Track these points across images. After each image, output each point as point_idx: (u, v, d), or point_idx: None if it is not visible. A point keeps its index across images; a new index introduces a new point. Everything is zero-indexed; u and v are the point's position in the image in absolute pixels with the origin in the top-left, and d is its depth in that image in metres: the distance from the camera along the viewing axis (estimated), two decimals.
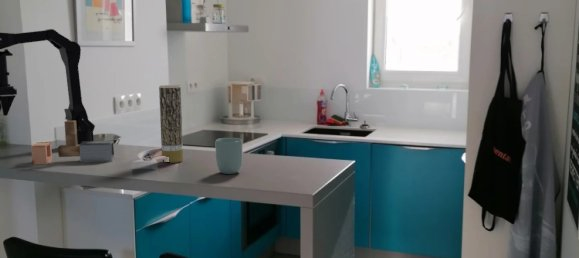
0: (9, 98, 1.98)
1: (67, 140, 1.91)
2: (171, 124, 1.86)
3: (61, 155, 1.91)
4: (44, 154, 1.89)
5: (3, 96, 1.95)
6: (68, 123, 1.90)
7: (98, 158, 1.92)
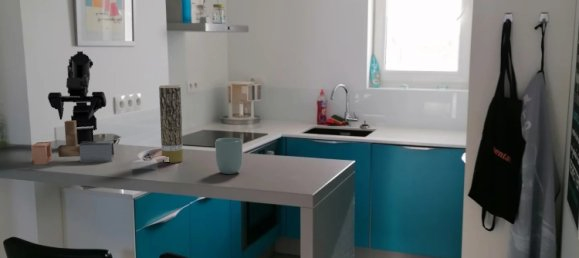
0: (95, 107, 2.04)
1: (67, 140, 1.91)
2: (171, 124, 1.86)
3: (61, 155, 1.91)
4: (44, 154, 1.89)
5: (100, 101, 2.03)
6: (68, 123, 1.90)
7: (98, 158, 1.92)
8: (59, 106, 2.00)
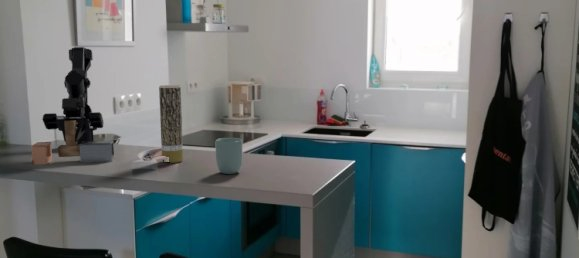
0: (83, 128, 1.96)
1: (67, 140, 1.91)
2: (171, 124, 1.86)
3: (61, 155, 1.91)
4: (44, 154, 1.89)
5: (88, 122, 1.95)
6: (68, 123, 1.90)
7: (98, 158, 1.92)
8: (63, 128, 1.92)
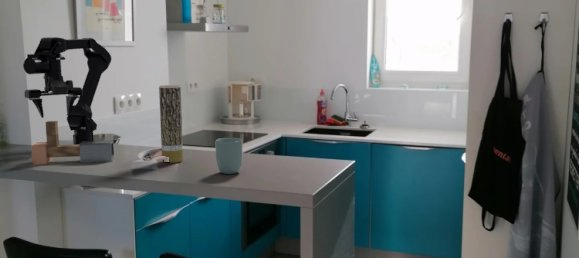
0: None
1: (48, 141, 1.90)
2: (171, 124, 1.86)
3: None
4: (44, 154, 1.89)
5: None
6: (49, 123, 1.89)
7: (98, 158, 1.92)
8: (40, 106, 2.04)
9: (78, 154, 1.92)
